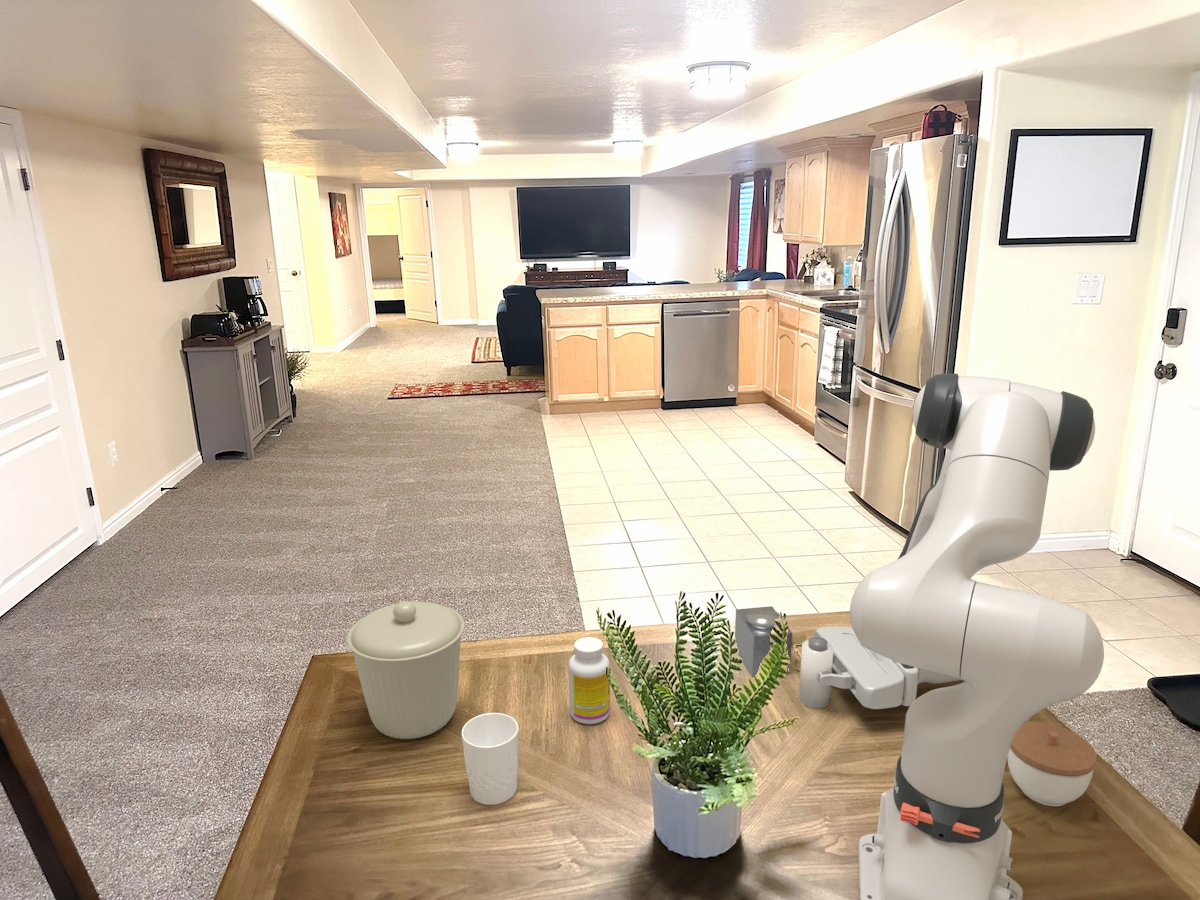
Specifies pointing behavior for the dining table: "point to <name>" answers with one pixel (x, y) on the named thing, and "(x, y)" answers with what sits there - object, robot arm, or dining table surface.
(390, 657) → the canister
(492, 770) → the white cup
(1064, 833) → the dining table surface
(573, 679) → the supplement bottle
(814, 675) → the white bottle
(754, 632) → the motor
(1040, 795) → the lidded jar
